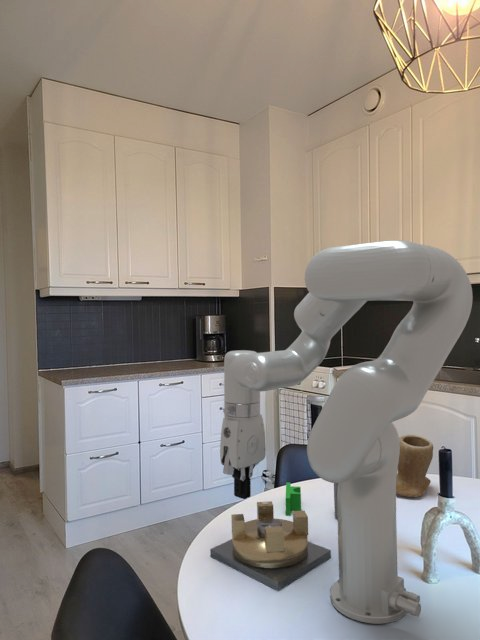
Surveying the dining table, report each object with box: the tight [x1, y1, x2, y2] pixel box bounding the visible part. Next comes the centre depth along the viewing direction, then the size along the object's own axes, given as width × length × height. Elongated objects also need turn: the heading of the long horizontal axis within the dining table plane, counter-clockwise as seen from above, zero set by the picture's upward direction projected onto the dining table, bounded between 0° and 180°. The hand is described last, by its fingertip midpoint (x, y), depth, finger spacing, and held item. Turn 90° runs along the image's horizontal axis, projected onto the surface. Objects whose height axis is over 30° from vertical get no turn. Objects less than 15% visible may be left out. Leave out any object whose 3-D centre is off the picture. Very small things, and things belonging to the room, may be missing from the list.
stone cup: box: [396, 434, 434, 498], centre depth 130 cm, size 15×12×15 cm
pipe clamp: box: [285, 481, 302, 517], centre depth 121 cm, size 11×4×5 cm, turn 174°
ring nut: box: [231, 500, 309, 568], centre depth 95 cm, size 15×15×7 cm
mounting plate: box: [209, 539, 332, 592], centre depth 95 cm, size 18×16×2 cm
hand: (242, 496), depth 100 cm, fingers closed
